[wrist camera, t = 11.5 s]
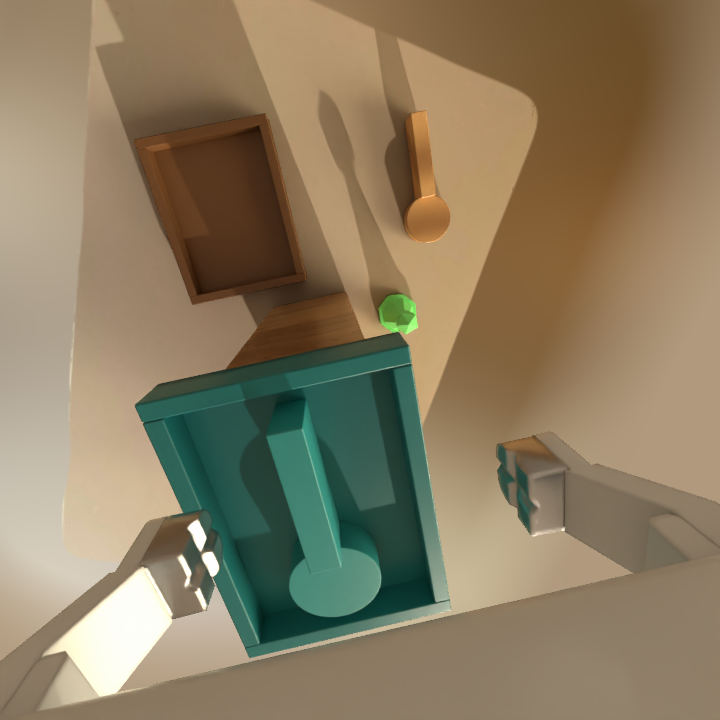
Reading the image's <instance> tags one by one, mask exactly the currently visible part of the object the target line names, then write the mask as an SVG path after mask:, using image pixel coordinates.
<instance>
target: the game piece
mask: <svg viewBox="0 0 720 720" xmlns="http://www.w3.org/2000/svg"><path fill="white" fill-rule="evenodd" d="M378 309H379V318H380V323H381V324H382V325H383V326H385V327H386V328H387V329H389V330H390V331H391V332H398V331H402V332H403V333H405V334H407V333H409V332H411V331H412V330H414V329H416V328H418V325H417V319H416V307H415V303H414V302H412V301H411V300H410V299H409V298H407V297H406V296H405V295H404V294H396V295H389V296H387V297H386V298H385V300H384V301H383V302H382V304H381V305H380V306H379V307H378Z"/></svg>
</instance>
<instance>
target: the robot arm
mask: <svg viewBox="0 0 720 720" xmlns="http://www.w3.org/2000/svg"><path fill="white" fill-rule="evenodd" d="M496 457H497V458H498V460H499V461H500V462H501V465H500V467H499V469H498V470H497V471H498V480H499V484H500V487H501V490H502V492H503V494H504V496H505V498H506V500H507V501H508V503H509V504H510V505H512V506H514V507H516V508H517V509H518V517H519V519H520V520H521V522H522V523H523V525H524V526H525V528H526V529H527V531H528V532H529V533H530V535H531V536H537V535H542V534H547V533H552V532H557V531H562V530H565V532H566V533H568V534H570V535H571V536H573V537H575V538H576V539H578V540H579V541H581V542H583V543H585V544H586V545H588V546H590V547H591V548H593V549H594V550H596V551H598V552H599V553H601V554H603V555H605V556H606V557H608V558H609V559H611V560H613V561H614V562H616V563H618V564H619V565H621V566H623V567H624V568H626V569H628V570H629V571H631V572H633V573H634V574H629V575H625V576H621V577H617V578H612V579H608V580H604V581H599V582H595V583H590V584H586V585H582V586H578V587H573V588H569V589H565V590H560V591H556V592H552V593H547V594H543V595H539V596H535V597H530V598H526V599H521V600H517V601H513V602H508V603H504V604H500V605H495V606H491V607H487V608H482V609H478V610H474V611H469V612H465V613H460V614H457V615H452V616H447V617H443V618H439V619H435V620H430V621H426V622H421V623H417V624H413V625H408V626H404V627H400V628H395V629H391V630H387V631H383V632H378V633H374V634H369V635H365V636H361V637H356V638H352V639H348V640H343V641H339V642H335V643H330V644H326V645H322V646H318V647H313V648H309V649H304V650H300V651H296V652H291V653H287V654H283V655H279V656H274V657H270V658H266V659H262V660H257V661H253V662H249V663H244V664H240V665H236V666H231V667H227V668H223V669H218V670H214V671H209V672H205V673H201V674H196V675H192V676H188V677H183V678H179V679H175V680H170V681H166V682H162V683H157V684H153V685H149V686H145V687H140V688H136V689H131V690H127V691H123V692H118V690H119V689H120V688H121V687H122V685H123V684H124V683H125V681H126V680H127V679H128V678H129V676H130V675H131V674H132V673H133V671H134V670H135V669H136V668H137V666H138V665H139V664H140V662H141V661H142V660H143V658H144V657H145V656H146V655H147V654H148V652H149V651H150V650H151V648H152V647H153V646H154V645H155V643H156V642H157V641H158V640H159V638H160V637H161V636H162V634H163V633H164V632H165V631H166V629H167V628H168V626H170V624H171V623H172V622H173V620H172V619H176V618H180V617H183V616H187V615H191V614H195V613H199V612H202V611H207V608H208V605H209V601H210V599H211V596H212V592H213V590H214V586H215V585H214V583H213V580H212V578H213V577H214V576H215V574H216V573H217V572H218V571H219V570H220V567H221V564H222V561H223V544H222V539H221V537H220V534H219V532H217V531H216V530H214V529H212V528H211V525H212V522H213V518H212V516H211V514H210V512H209V511H208V510H206V509H202V510H197V511H192V512H187V513H182V514H177V515H172V516H169V517H162V518H158V519H153V520H150V521H149V522H147V523H146V524H145V526H144V527H143V529H142V530H141V532H140V534H139V535H138V537H137V538H136V540H135V541H134V543H133V545H132V546H131V548H130V549H129V551H128V552H127V554H126V556H125V557H124V559H123V560H122V562H121V564H120V565H119V567H118V568H117V570H116V571H115V572H113V573H109V574H108V575H106V576H105V577H104V578H103V579H102V580H100V581H99V582H98V583H97V584H95V585H94V586H93V587H92V588H90V589H89V590H88V591H87V592H85V593H84V594H83V595H82V596H81V597H79V598H78V599H77V600H75V601H74V602H73V603H72V604H71V605H69V606H68V607H67V608H66V609H64V610H63V611H62V612H61V613H59V614H58V615H57V616H56V617H54V618H53V619H52V620H51V621H49V622H48V623H47V624H46V625H45V626H43V627H42V628H41V629H40V630H38V631H37V632H36V633H35V634H33V635H32V636H31V637H30V638H28V639H27V640H26V641H25V642H24V643H23V644H21V645H20V646H19V647H17V648H16V649H15V650H14V651H12V652H11V653H10V654H9V655H8V656H6V657H5V658H4V659H3V660H1V661H0V720H720V504H718V503H717V502H715V501H712V500H709V499H706V498H703V497H699V496H696V495H693V494H690V493H687V492H684V491H681V490H677V489H674V488H671V487H668V486H665V485H662V484H659V483H656V482H652V481H649V480H646V479H643V478H640V477H637V476H633V475H630V474H627V473H624V472H621V471H618V470H615V469H612V468H609V467H605V466H602V465H599V464H594V465H591V464H589V463H588V462H587V461H586V460H585V459H584V458H583V457H581V456H580V455H579V454H578V453H577V452H576V451H574V450H573V449H572V448H571V447H570V446H569V445H567V444H566V443H565V442H564V441H563V440H562V439H560V438H559V437H558V436H557V435H556V434H555V433H553V432H545V433H541V434H537V435H533V436H531V437H527V438H523V439H518V440H514V441H509V442H505V443H500V444H497V446H496ZM117 692H118V693H117Z"/></svg>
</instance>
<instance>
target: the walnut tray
mask: <svg viewBox="0 0 720 720" xmlns="http://www.w3.org/2000/svg"><path fill="white" fill-rule="evenodd" d="M134 143H135V146H136V149H137V152H138V155H139V157H140V160H141V163H142V166H143V169H144V171H145V174H146V177H147V180H148V183H149V185H150V188H151V191H152V194H153V197H154V199H155V202H156V205H157V208H158V210H159V213H160V216H161V219H162V222H163V224H164V227H165V230H166V233H167V236H168V238H169V241H170V244H171V247H172V250H173V252H174V255H175V258H176V261H177V263H178V266H179V269H180V272H181V275H182V277H183V280H184V283H185V286H186V289H187V291H188V294H189V297H190V300H191V302H192V305H194V304H199V303H203V302H208V301H213V300H217V299H222V298H227V297H231V296H236V295H241V294H246V293H250V292H255V291H260V290H264V289H269V288H274V287H278V286H283V285H288V284H292V283H297V282H302V281H306V280H307V275H306V271H305V267H304V263H303V259H302V255H301V250H300V246H299V242H298V238H297V234H296V230H295V226H294V222H293V218H292V213H291V209H290V205H289V201H288V197H287V193H286V189H285V185H284V181H283V176H282V172H281V168H280V164H279V160H278V156H277V152H276V148H275V144H274V140H273V135H272V131H271V127H270V123H269V120H268V118H267V116H266V114H265V113H264V114H259V115H254V116H249V117H244V118H239V119H234V120H229V121H224V122H219V123H214V124H209V125H204V126H199V127H194V128H189V129H184V130H179V131H174V132H170V133H165V134H160V135H155V136H150V137H145V138H140V139H135V140H134Z"/></svg>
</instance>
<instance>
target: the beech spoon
mask: <svg viewBox="0 0 720 720" xmlns="http://www.w3.org/2000/svg"><path fill="white" fill-rule="evenodd" d="M405 127H406V135H407V142H408V150H409V157H410V165H411V172H412V180H413V187H414V194H415V200H414V201H413V202H412V203H411V204H410V205H409V206H408V207H407V209H406V212H405V215H404V227H405V230H406V232H407V234H408V235H409V236H410V237H411V238H412V239H414V240H415V241H418V242H433V241H436V240H438V239H439V238H441V237H442V236H443V235H444V234H445V232H446V231H447V229H448V227H449V223H450V212H449V208H448V206H447V205H446V203H445V202H444V201H443V200H442V199H441V198H439V197H437V196H434V195H436V193H435V184H434V175H433V167H432V158H431V150H430V141H429V132H428V124H427V115H426V110H424V111H419V112H414V113H411V114H410V115H409V117H408V118H407V120H406V121H405Z"/></svg>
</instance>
